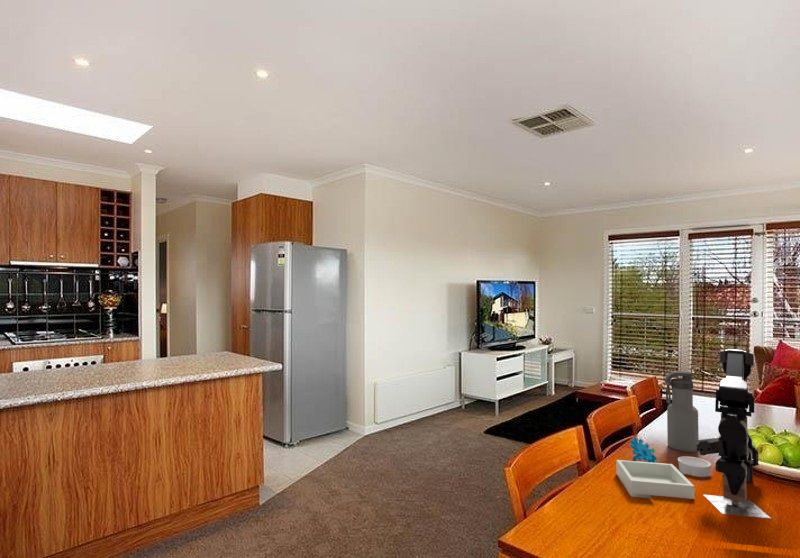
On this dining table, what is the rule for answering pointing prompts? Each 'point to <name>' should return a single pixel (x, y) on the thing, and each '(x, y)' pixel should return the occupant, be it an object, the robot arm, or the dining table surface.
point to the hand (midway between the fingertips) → (735, 491)
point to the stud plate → (736, 507)
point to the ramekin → (694, 466)
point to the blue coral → (642, 451)
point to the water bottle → (681, 413)
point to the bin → (653, 480)
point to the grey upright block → (740, 495)
